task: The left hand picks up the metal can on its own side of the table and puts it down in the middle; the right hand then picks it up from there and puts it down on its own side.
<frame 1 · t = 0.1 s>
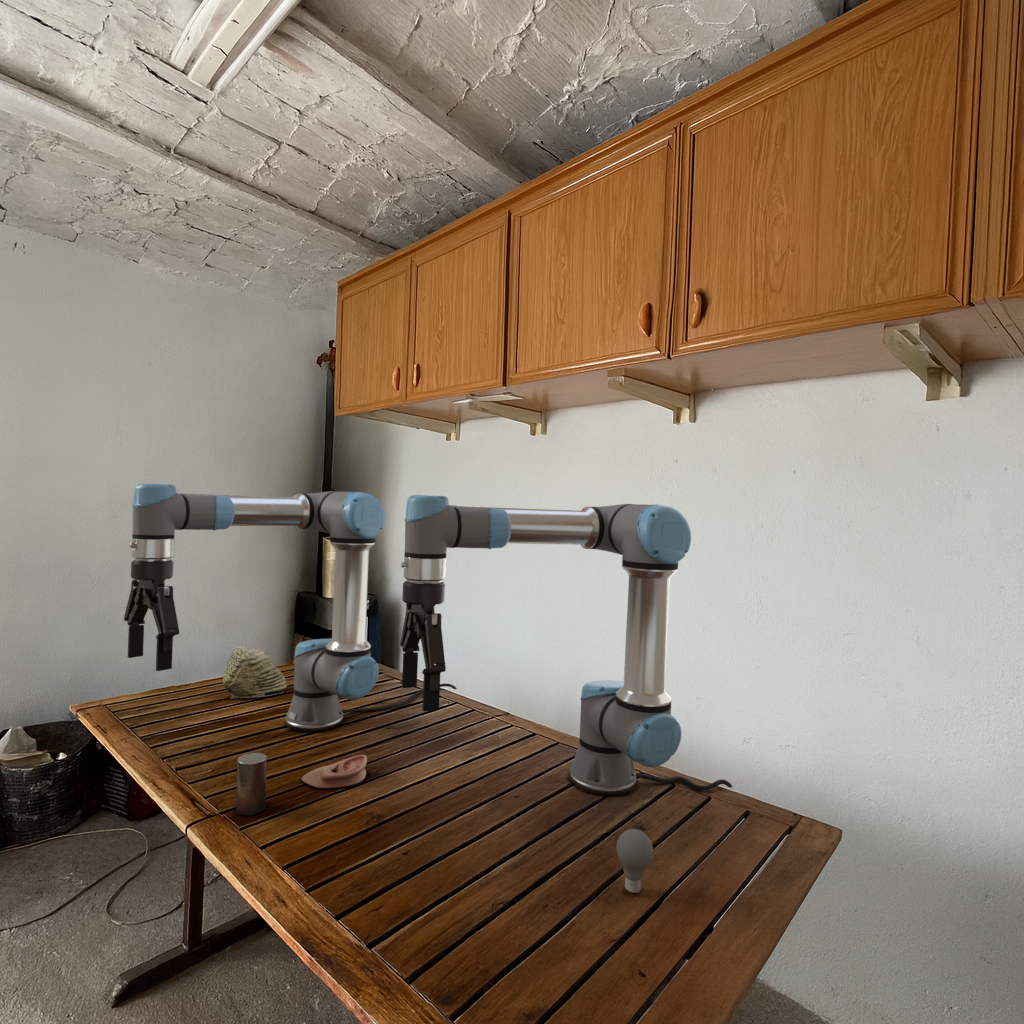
left hand: (149, 663, 129), 28 cm above the table, tool pointing down, fingers open, 13 cm apart
right hand: (419, 698, 114), 28 cm above the table, tool pointing down, fingers open, 13 cm apart
anatomical model: (334, 778, 143), on the table
can: (250, 808, 127), on the table
light bulb: (632, 891, 106), on the table
fossil: (254, 694, 198), on the table
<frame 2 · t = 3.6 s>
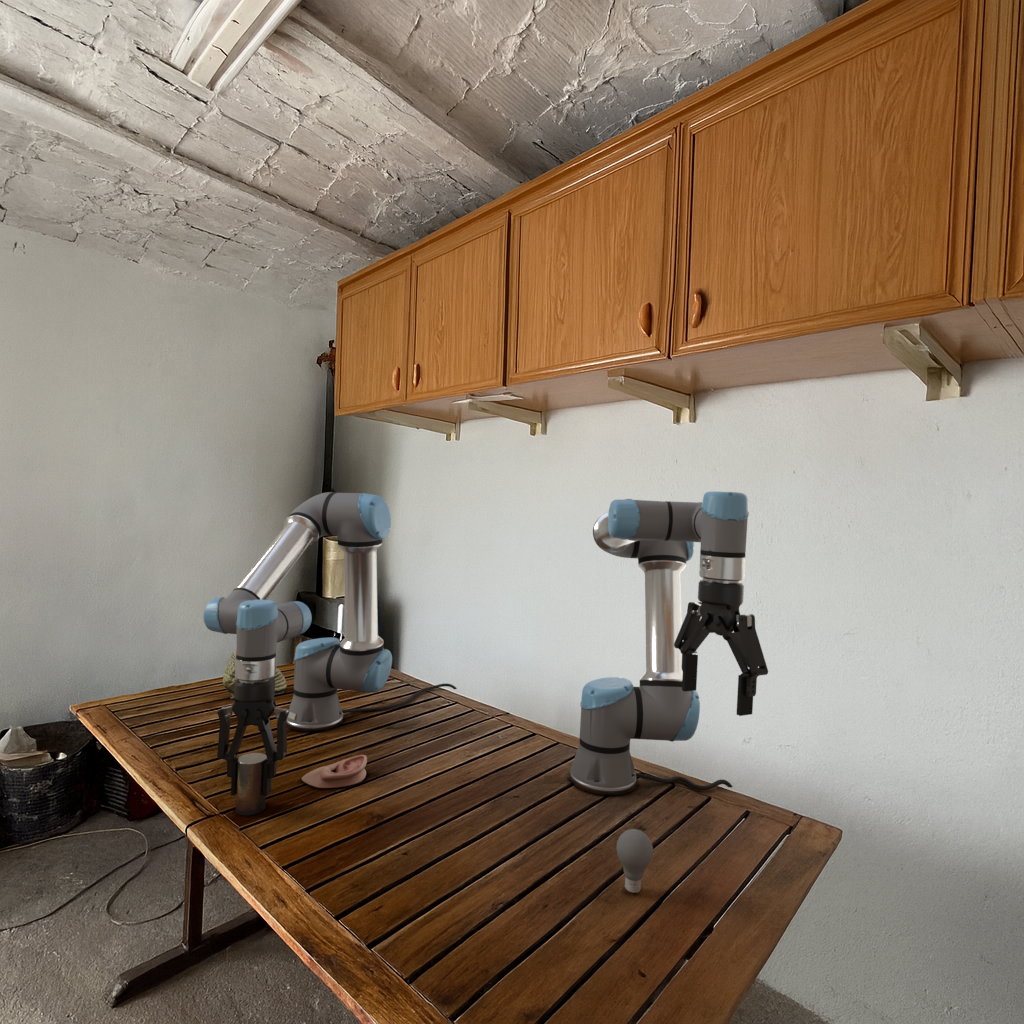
left hand: (251, 792, 127), 3 cm above the table, tool pointing down, fingers closed on can, 5 cm apart
right hand: (715, 701, 110), 31 cm above the table, tool pointing down, fingers open, 13 cm apart
can: (250, 808, 127), on the table, touching left hand
everything else where it was.
when the left hand's fingers open (5 cm above the table, at t = 7.2 s): can drops 2 cm, on the table.
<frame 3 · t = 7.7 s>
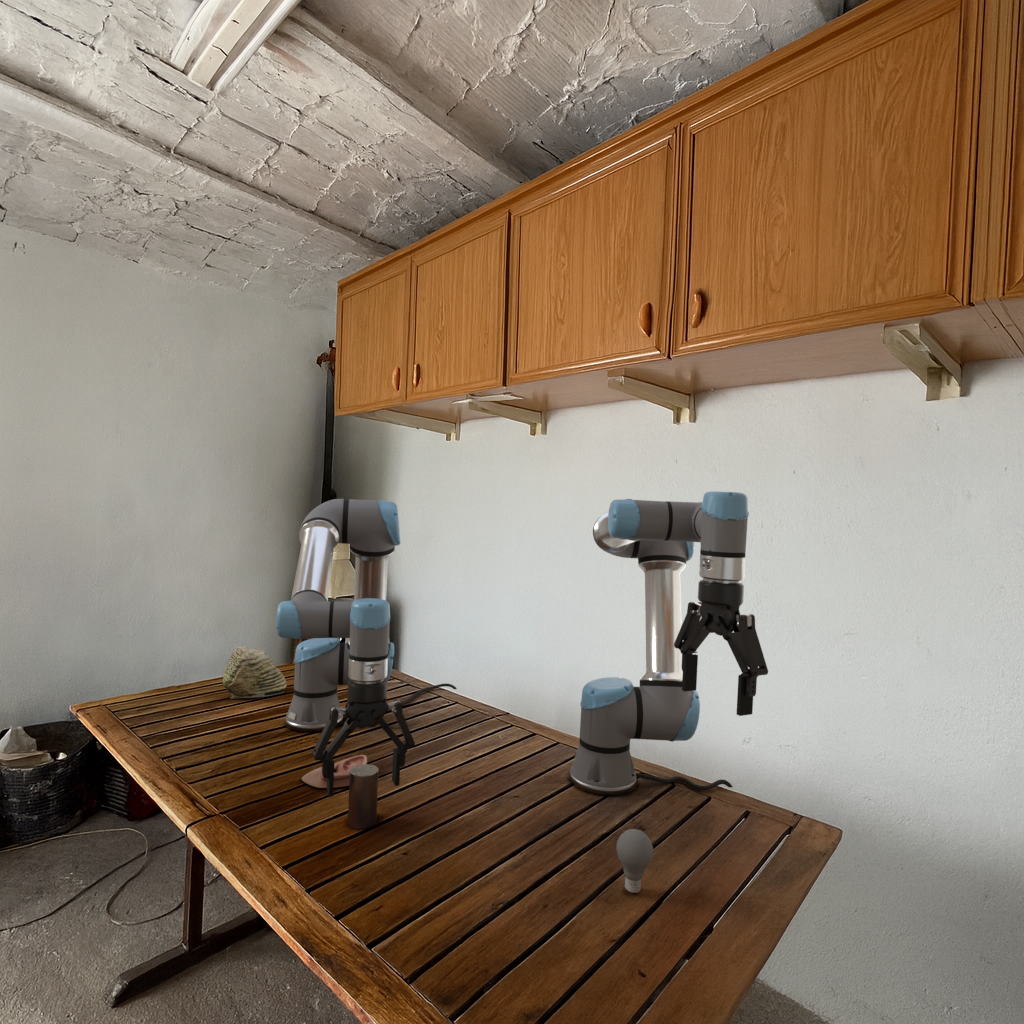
left hand: (363, 788, 124), 7 cm above the table, tool pointing down, fingers open, 12 cm apart
right hand: (715, 701, 110), 31 cm above the table, tool pointing down, fingers open, 13 cm apart
can: (362, 822, 124), on the table
everything else where it was.
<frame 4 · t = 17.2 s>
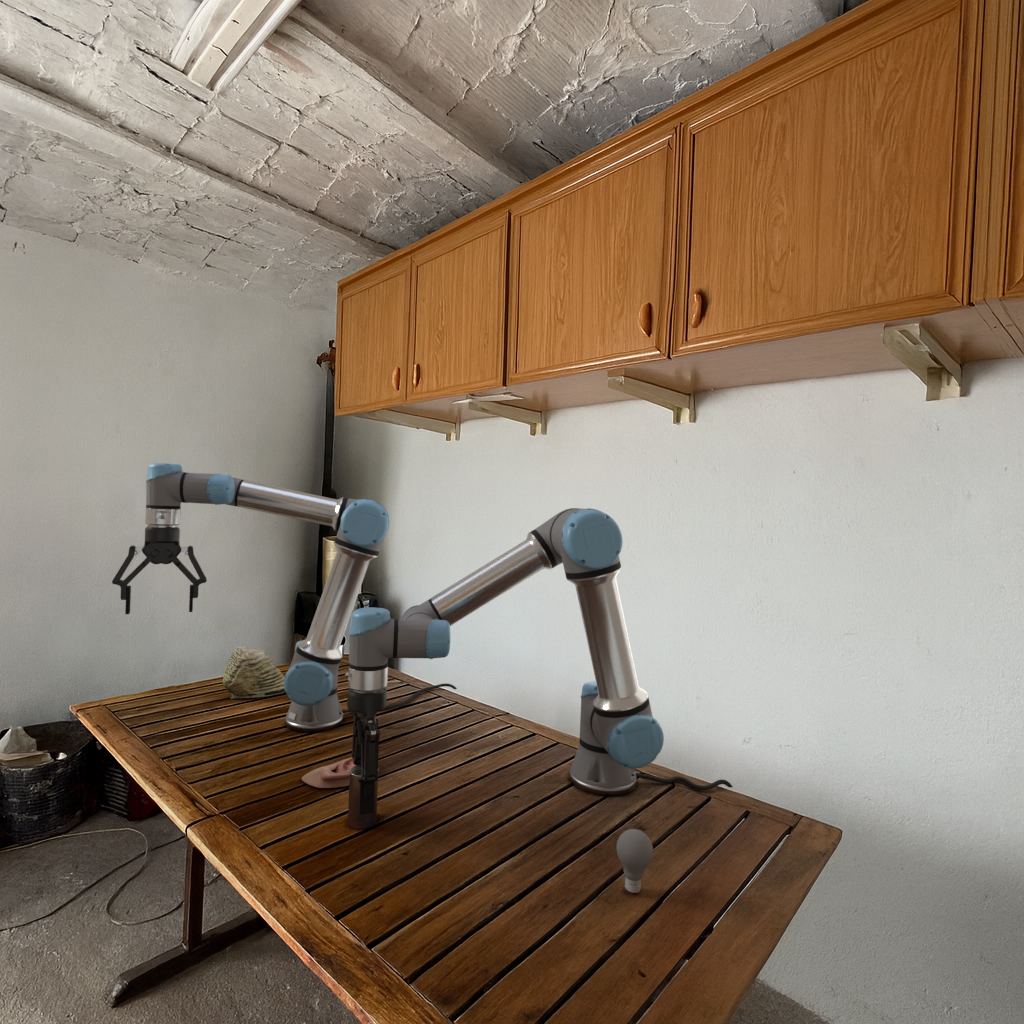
left hand: (159, 612, 156), 33 cm above the table, tool pointing down, fingers open, 13 cm apart
right hand: (362, 805, 124), 3 cm above the table, tool pointing down, fingers closed on can, 5 cm apart
can: (362, 822, 124), on the table, touching right hand
everything else where it was.
when the right hand's fingers open (5 cm above the table, at t = 23.2 s): can drops 2 cm, on the table.
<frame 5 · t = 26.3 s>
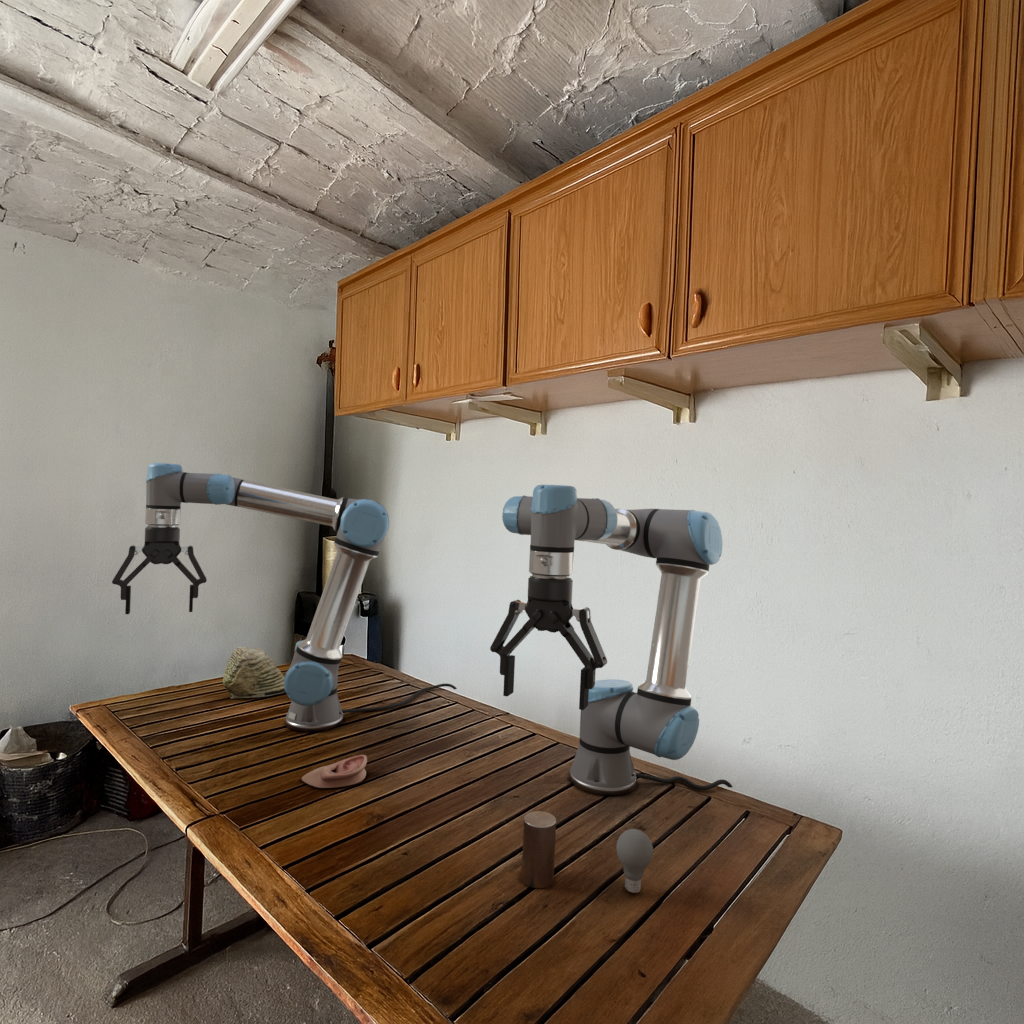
left hand: (159, 612, 156), 33 cm above the table, tool pointing down, fingers open, 13 cm apart
right hand: (545, 700, 108), 31 cm above the table, tool pointing down, fingers open, 13 cm apart
can: (537, 878, 108), on the table
everything else where it was.
at the end: can inside the target area (0.1 cm from its centre), on the table; can tilted 0°; the two hands never held the can at the same time; the left hand is holding nothing; the right hand is holding nothing; can at rest at the end (0.0 cm/s) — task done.
